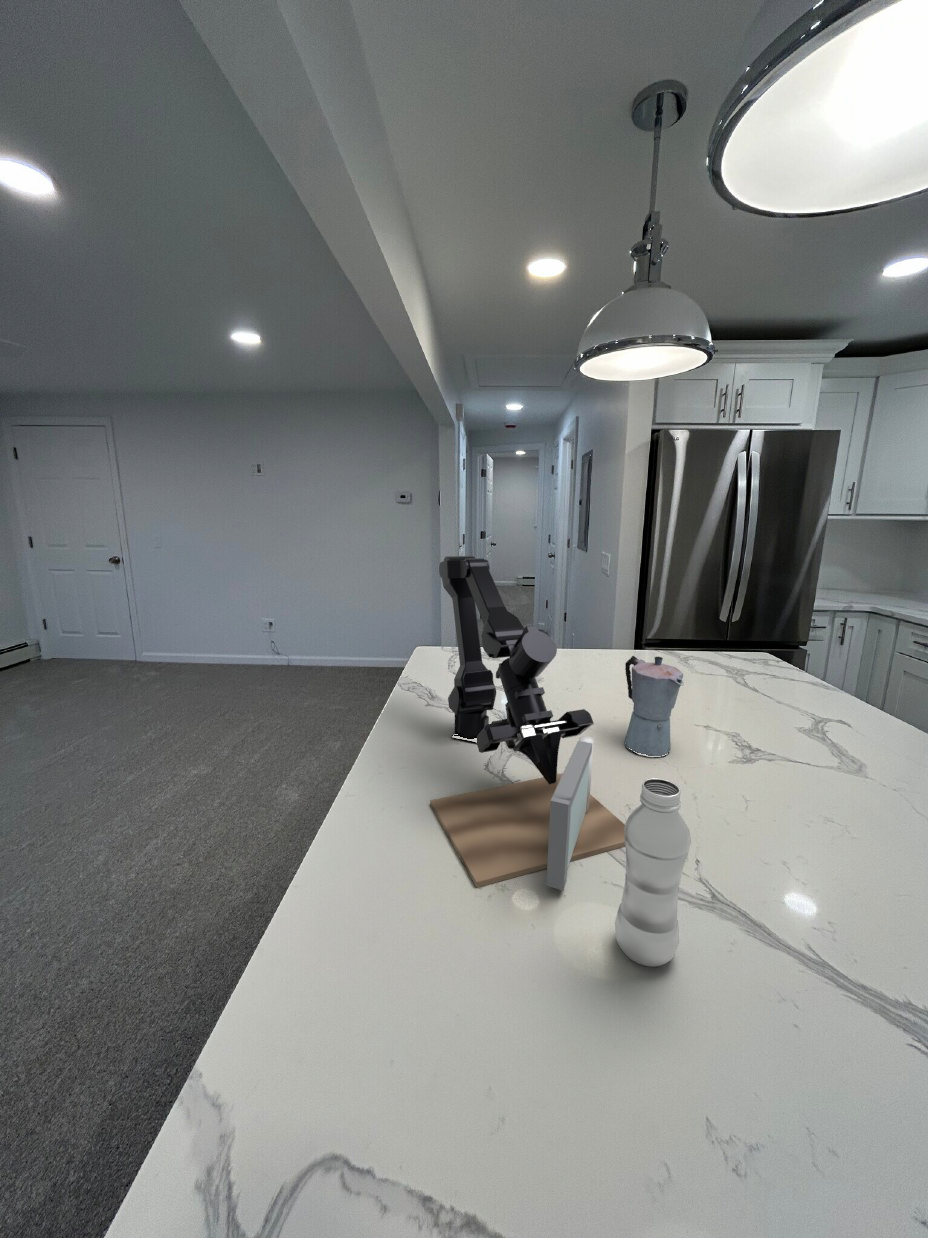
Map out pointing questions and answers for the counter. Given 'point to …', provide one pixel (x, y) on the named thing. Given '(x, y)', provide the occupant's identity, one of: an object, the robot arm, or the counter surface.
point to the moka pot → (651, 705)
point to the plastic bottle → (653, 875)
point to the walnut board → (517, 829)
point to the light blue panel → (568, 811)
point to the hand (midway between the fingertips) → (552, 783)
